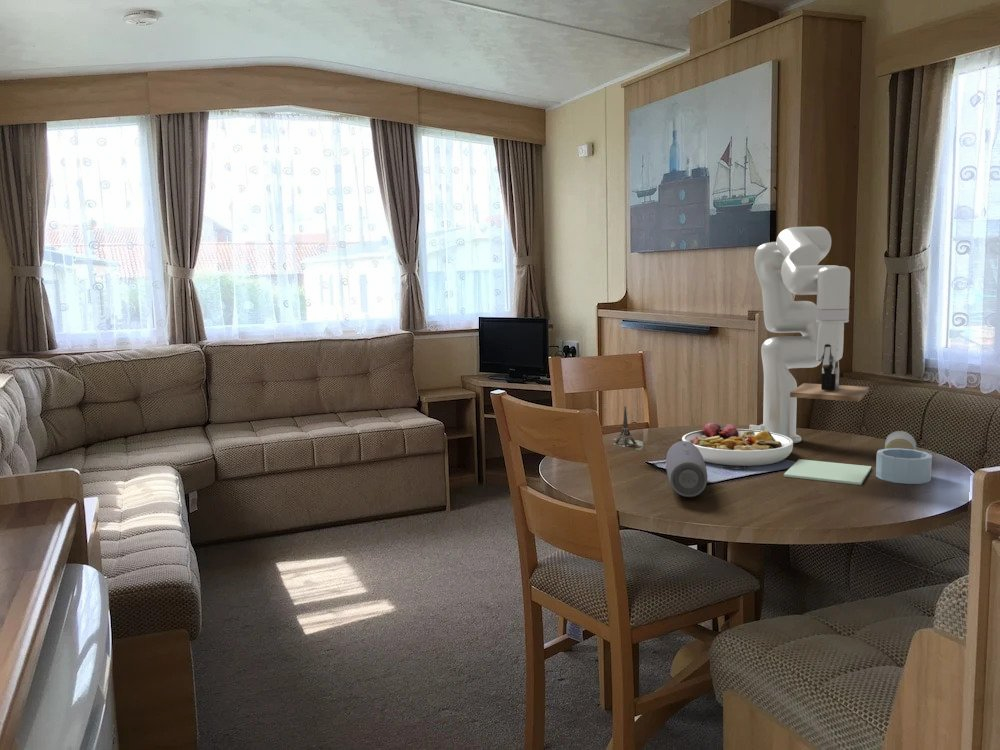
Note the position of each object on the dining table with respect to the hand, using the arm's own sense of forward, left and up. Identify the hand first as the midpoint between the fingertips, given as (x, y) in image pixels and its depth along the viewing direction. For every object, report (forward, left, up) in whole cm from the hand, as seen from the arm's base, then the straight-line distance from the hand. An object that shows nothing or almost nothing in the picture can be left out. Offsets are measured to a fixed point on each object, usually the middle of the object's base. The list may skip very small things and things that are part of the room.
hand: (830, 387), depth 202 cm
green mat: (0, 0, -22) cm, 22 cm away
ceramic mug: (+16, +21, -22) cm, 34 cm away
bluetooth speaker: (-27, -31, -22) cm, 47 cm away
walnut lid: (0, 0, -2) cm, 2 cm away
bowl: (-26, +9, -23) cm, 35 cm away
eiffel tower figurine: (-59, +9, -23) cm, 64 cm away
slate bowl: (+17, +3, -22) cm, 28 cm away
